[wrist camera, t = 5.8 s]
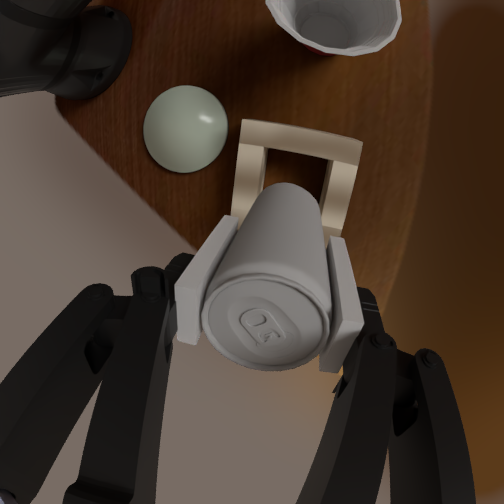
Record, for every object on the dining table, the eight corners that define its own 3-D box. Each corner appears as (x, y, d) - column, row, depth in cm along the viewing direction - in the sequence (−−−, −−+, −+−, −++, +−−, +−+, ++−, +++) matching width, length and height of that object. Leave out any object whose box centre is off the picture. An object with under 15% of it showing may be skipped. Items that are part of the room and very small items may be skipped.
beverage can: (275, 253, 22) (246, 383, 11) (240, 201, 20) (171, 305, 10) (331, 225, 20) (353, 351, 9) (298, 167, 18) (290, 246, 8)
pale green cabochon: (150, 86, 29) (147, 86, 28) (233, 88, 28) (231, 87, 27) (145, 166, 35) (141, 168, 34) (223, 176, 34) (221, 178, 33)
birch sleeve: (251, 118, 30) (242, 119, 25) (354, 138, 29) (362, 142, 24) (238, 213, 36) (229, 228, 31) (332, 232, 34) (336, 250, 30)
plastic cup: (364, 88, 26) (396, 74, 15) (270, 65, 26) (252, 38, 16) (377, 12, 20) (408, -28, 10) (287, -9, 21) (276, -60, 11)
